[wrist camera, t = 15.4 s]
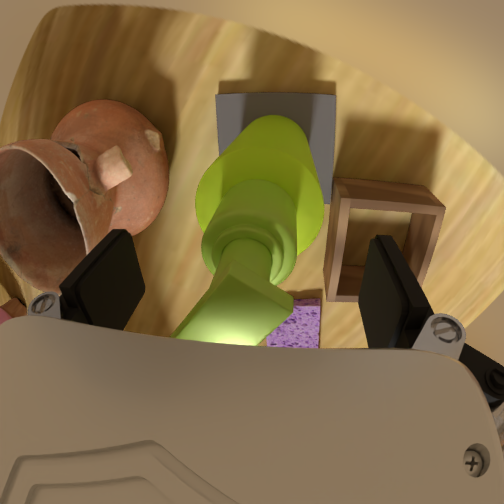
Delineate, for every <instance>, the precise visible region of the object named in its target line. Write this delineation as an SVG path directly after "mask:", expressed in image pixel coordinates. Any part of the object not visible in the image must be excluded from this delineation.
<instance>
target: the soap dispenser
mask: <svg viewBox="0 0 504 504" xmlns="http://www.w3.org/2000/svg"><path fill="white" fill-rule="evenodd" d="M195 208H196V215H197V219H198V222H199V224H200V227H201V229H202V231H203V232H204V235H203V238H202V244H201V251H202V256H203V260H204V262H205V264H206V266H207V268H208V269H209V271H210V272H211V273H212V274H213V275H214V277H213V280H212V282H211V285H210V288H209V289H208V290H207V292H206V293H205V294H204V295H203V297H202V298H201V299H200V300H199V302H198V303H197V304H196V305H195V307H194V308H193V309H192V310H191V312H190V313H189V314H188V315H187V316H186V318H185V319H184V320H183V321H182V323H181V324H180V325H179V326H178V328H177V329H176V330H175V331H174V332H173V333H172V335H171V336H170V337H169V338H177V339H186V340H195V341H204V342H214V343H225V344H238V345H252V346H257V345H258V344H259V343H261V342H262V341H263V340H264V339H265V338H266V337H267V336H268V335H270V334H271V333H272V332H273V331H274V330H275V329H276V328H277V327H278V326H279V325H280V324H282V323H283V322H284V321H285V320H286V319H287V318H288V317H289V316H290V315H291V314H292V313H293V305H294V297H293V296H291V295H290V294H288V293H286V292H285V291H283V290H282V289H280V288H278V287H277V285H278V284H280V283H281V282H283V281H284V280H285V279H286V278H287V277H288V276H289V275H290V273H291V272H292V270H293V268H294V266H295V263H296V259H297V255H299V254H300V253H302V252H303V251H304V250H305V249H307V248H308V247H309V246H310V245H311V243H312V242H313V241H314V239H315V238H316V236H317V235H318V233H319V231H320V228H321V226H322V222H323V218H324V199H323V195H322V191H321V187H320V183H319V179H318V176H317V172H316V168H315V165H314V161H313V158H312V154H311V151H310V148H309V144H308V141H307V138H306V135H305V133H304V132H303V130H302V129H301V127H300V126H299V125H298V124H297V123H295V122H294V121H293V120H291V119H289V118H287V117H284V116H280V115H267V116H263V117H260V118H258V119H256V120H254V121H253V122H251V123H250V124H249V125H248V126H247V127H246V128H245V129H244V130H243V131H242V132H241V133H240V134H239V136H238V137H237V138H236V139H235V140H234V141H233V142H232V143H231V144H230V145H229V146H228V147H227V148H226V149H225V150H224V152H223V153H222V154H221V155H220V156H219V157H218V158H217V159H216V160H215V161H214V162H213V164H212V165H211V166H210V167H209V168H208V169H207V171H206V172H205V173H204V175H203V177H202V178H201V180H200V183H199V185H198V188H197V192H196V199H195Z"/></svg>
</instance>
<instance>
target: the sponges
mask: <svg viewBox="0 0 504 504" xmlns="http://www.w3.org/2000/svg"><path fill="white" fill-rule="evenodd" d="M319 325H320V298H316V299H296V300H294V305H293V313H292V314H291V315H290V316H289V317H288V318H287V319H286V320H285V321H284V322H283V323H282V324H280V325H279V326H278V327H277V328H276V329H275V330H274V331H273V332H272V333H271V334H270V335H268V336H267V337H266V339H267V346H270V347H293V348H318V343H319Z"/></svg>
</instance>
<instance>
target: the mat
mask: <svg viewBox="0 0 504 504" xmlns="http://www.w3.org/2000/svg"><path fill="white" fill-rule="evenodd" d="M215 97H216V114H217V129H218V144H219V156H220V155H221V154H222V153H223V152H224V150H225V149H226V148H227V147H228V146H229V145H230V144H231V143H232V142H233V141H234V140H235V139H236V138H237V137H238V136H239V134H240V133H241V132H242V131H243V130H244V129H245V128H246V127H247V126H248V125H249V124H250V123H251V122H253V121H254V120H256V119H258V118H260V117H263V116H267V115H280V116H284V117H287V118H289V119H291V120H293V121H294V122H295V123H297V124H298V125H299V126H300V127H301V129H302V130H303V132H304V133H305V135H306V138H307V141H308V144H309V148H310V151H311V154H312V158H313V161H314V165H315V168H316V172H317V176H318V179H319V183H320V187H321V191H322V195H323V199H324V204H330V200H331V188H332V175H333V159H334V141H335V116H336V95H328V94H313V93H284V92H261V93H232V94H217V95H215Z"/></svg>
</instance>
